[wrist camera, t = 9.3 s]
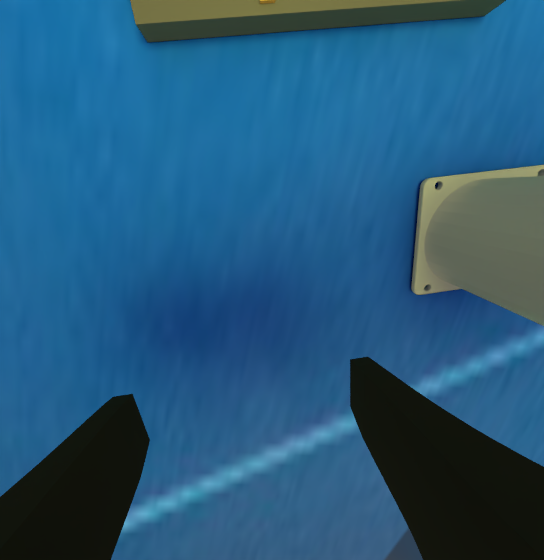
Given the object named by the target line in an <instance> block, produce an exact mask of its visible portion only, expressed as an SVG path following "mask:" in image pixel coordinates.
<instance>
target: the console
mask: <svg viewBox="0 0 544 560" xmlns="http://www.w3.org/2000/svg"><path fill="white" fill-rule="evenodd" d="M130 1H131V5H132V10H133V14H134V18H135V23H136V25H137V27H138V28H139V30H140V31H141V33H142V34H143V36H144V38H145V39H146V41H147V42H159V41H172V40H185V39H198V38H211V37H223V36H236V35H249V34H262V33H275V32H287V31H300V30H313V29H326V28H339V27H351V26H364V25H377V24H390V23H403V22H416V21H428V20H441V19H454V18H467V17H480V16H485V15H486V14H488V13H489V12H491V11H492V10H493V9H495V8H496V7H498V6H499V5H500V4H502V3H503V2H504V1H506V0H130Z"/></svg>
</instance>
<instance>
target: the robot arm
mask: <svg viewBox="0 0 544 560" xmlns="http://www.w3.org/2000/svg"><path fill="white" fill-rule="evenodd" d="M538 172H539V174H538ZM437 182H438V188H437V189H435V184H436V183H437ZM426 285H427V287H426V288H425V289H424V287H425V286H426ZM411 289H412V291H413V292H414V293H415V294H417V295H422V294H429V293H436V292H443V291H450V290H457V289H464V290H466V291H468V292H470V293H472V294H475V295H477V296H479V297H481V298H483V299H486V300H488V301H490V302H492V303H494V304H497V305H499V306H501V307H503V308H505V309H507V310H510V311H512V312H514V313H516V314H518V315H521V316H523V317H525V318H527V319H529V320H532V321H534V322H536V323H538V324H540V325H543V326H544V165H538V166H529V167H520V168H512V169H503V170H495V171H486V172H477V173H469V174H460V175H452V176H443V177H435V178H428V179H425V180H424V181H423V182H422V183H421V186H420V195H419V207H418V218H417V229H416V241H415V252H414V264H413V275H412V287H411ZM350 406H351V409H352V411H353V414H354V417H355V419H356V422H357V425H358V427H359V430H360V432H361V435H362V437H363V439H364V441H365V443H366V445H367V447H368V449H369V451H370V453H371V455H372V457H373V459H374V461H375V463H376V465H377V467H378V468H379V470H380V472H381V474H382V476H383V478H384V480H385V482H386V484H387V486H388V488H389V490H390V492H391V494H392V495H393V497H394V499H395V501H396V503H397V505H398V507H399V509H400V511H401V513H402V515H403V517H404V519H405V521H406V523H407V525H408V527H409V529H410V531H411V533H412V535H413V537H414V540H415V542H416V544H417V546H418V549H419V551H420V553H421V556H422V558H423V560H544V467H543V466H541V465H539V464H537V463H535V462H533V461H531V460H530V459H528V458H526V457H524V456H522V455H520V454H519V453H517V452H515V451H513V450H511V449H510V448H508V447H506V446H504V445H502V444H501V443H499V442H497V441H495V440H493V439H492V438H490V437H488V436H486V435H485V434H483V433H481V432H480V431H478V430H476V429H475V428H473V427H471V426H470V425H468V424H466V423H465V422H463V421H462V420H460V419H458V418H457V417H455V416H453V415H452V414H450V413H449V412H447V411H446V410H444V409H442V408H441V407H439V406H438V405H436V404H435V403H433V402H432V401H430V400H429V399H427V398H426V397H424V396H423V395H421V394H420V393H418V392H417V391H415V390H414V389H413V388H411V387H410V386H408V385H407V384H405V383H404V382H403V381H401V380H400V379H398V378H397V377H396V376H394V375H393V374H391V373H390V372H389V371H387V370H386V369H384V368H383V367H382V366H380V365H379V364H378V363H376V362H375V361H373V360H372V359H370V358H369V357H363V358H357V359H350ZM149 441H150V439H149V437H148V434H147V431H146V429H145V426H144V423H143V421H142V418H141V415H140V413H139V410H138V407H137V405H136V402H135V399H134V397H133V394H129V395H122V396H116V397H112V398H111V399H110V400H109V401H108V402H106V403H105V404H104V405H103V406H102V407H101V408H99V409H98V410H97V411H96V412H95V413H94V414H93V415H92V416H91V417H89V418H88V419H87V420H86V421H85V422H84V423H83V424H82V425H81V426H80V427H79V428H77V429H76V430H75V431H74V432H73V433H72V434H71V435H70V436H69V437H68V438H67V439H65V440H64V441H63V442H62V443H61V444H60V445H59V446H58V447H57V448H56V449H54V450H53V451H52V452H51V453H50V454H49V455H48V456H47V457H46V458H44V459H43V460H42V461H41V462H40V463H39V464H38V465H37V466H36V467H34V468H33V469H32V470H31V471H30V472H29V473H27V474H26V475H25V476H24V477H23V478H22V479H21V480H19V481H18V482H17V483H16V484H15V485H14V486H12V487H11V488H10V489H9V490H8V491H7V492H5V493H4V494H3V495H2V496H1V497H0V560H111V557H112V554H113V552H114V549H115V546H116V544H117V541H118V538H119V535H120V533H121V530H122V527H123V525H124V522H125V519H126V516H127V514H128V511H129V508H130V505H131V503H132V500H133V497H134V494H135V492H136V489H137V486H138V483H139V480H140V477H141V474H142V470H143V466H144V462H145V458H146V454H147V450H148V445H149Z"/></svg>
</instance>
